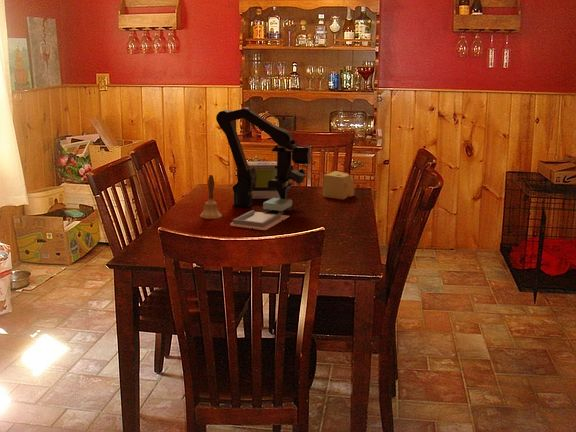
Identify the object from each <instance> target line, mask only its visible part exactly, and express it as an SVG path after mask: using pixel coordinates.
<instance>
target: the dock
mask: <svg viewBox="0 0 576 432" xmlns="http://www.w3.org/2000/svg"><path fill="white" fill-rule="evenodd" d="M289 217H290V215H285V214H283V215H281V214H280V213H278V212H277V213H270V212H269V213H265V212H262V211H255V210H254V209H252V210H250V211H247V212H245V213H243V214H241V215H240V216H237V217H236V218H233V219H232V222H230V223H229V224H230V226H231V227H237V228H246V229H252V228H253V230H262V231H266V230H267V231H268V230H269V229H270V228H272V227H274V226H275V225H278V224H279V223H281V222H283V221H285V220H286V219H287V218H289ZM282 220H283V221H282Z"/></svg>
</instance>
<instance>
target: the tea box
mask: <svg viewBox="0 0 576 432" xmlns="http://www.w3.org/2000/svg"><path fill="white" fill-rule="evenodd" d="M247 164H248V165H249V166H250V168H252V167H254V169H255V173H256V175H257V177H256V183H255V184H254V185H253V186H252V188H251V189H250V191H251V194H252V200H253V199H254V200H255V199H259V200H260V199H262V200H263V199H266V200H267V199H268V200H270V199H272V198H280V196H279V194H278V192H277V190H276V188H270V187H268V182H269V181H270V180H272V179H275V176H276V175H277V168H275V166H276V165H277V161H247Z"/></svg>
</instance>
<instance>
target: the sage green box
mask: <svg viewBox="0 0 576 432" xmlns="http://www.w3.org/2000/svg"><path fill="white" fill-rule="evenodd" d="M292 206H293V199H290V198H286V199H281V198H272V199H268V200H265V201H264V202H263V203H262V209H263V210H264V212H263V213H270V211H271V210H272V211H278V212H277V214H278V213H280V214H281V215H284V213H285V212H284V211H285V210H286V211H287V212H290V211H292Z"/></svg>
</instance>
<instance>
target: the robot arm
mask: <svg viewBox="0 0 576 432" xmlns="http://www.w3.org/2000/svg"><path fill="white" fill-rule="evenodd" d="M215 119H216V122H217V124H218V126H219V128H220V129H221V130H222V132H223V133H224V134H225V138H226V140H227V143H228V145H229V148H230V151H231V155H232V157H233V160H234V164H235V166H236V179H237V182H236V183H235V184H234V185H233V186H232V191H233V204H232V205H231V206H232V207H239V208H249V207H251V206H253V205H254V203H253V199H252V194H251V191H250V189H251V188H252V186H253V185H254V184H255V183H256V177H257V175H256V173H255V169H254V167H252V168H250V166H249V165H248V164H247V162H248V161H247V158H246V154H245V153H244V149H243V146H242V144H241V141H240V137H239V135H238V132H237V120H240V119H244V120H246V121H247V122H249V123H250V124H252V125H254V126H255V127H256V128H258V129H260V130H261V131H263V132H264V133H266V134H267V135H268V136H269V137H270V138H271V140H272V141H273V142H274V143H276V145H275V146H274V147H273V148H272V149H271V152H276V162H277V165H276V166H275V168H277V175H276V176H275V179H272V180H270V181H269V182H268V187H270V188H276V190H277V192H278V194H279V196H280V198H281V199H287V197H288V194H289V190H290V188H291V187H292V186H293V185H294V183H293V182H295V183H296V184H301V183H304V181H305V178H306V177H307V174H306V170H305V169H304V168H300V169H299V170H298V169H294V168H295V167H294V164H298V165H310V164H311V162H312V154H311V149H310V146H299V145H298V143H297V142H296V141H295V139H294V136H293V135H294V134H293V132H292V131H290V130H288V129H285V128H283V127H280V126H277V125H275V124H273V123H271V122H270V121H269V120H267V119H266V118H264V117H262V116H261V115H259V114H258V113H256V112H255V111H253V110H252V109H251V108H250V107H247V106H245V107H242V108H240V109H237V110H231V109H224V110H221V111H219V112H218V113H217V115H216V117H215ZM292 162H293V163H294V164H292ZM291 181H293V182H291Z"/></svg>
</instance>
